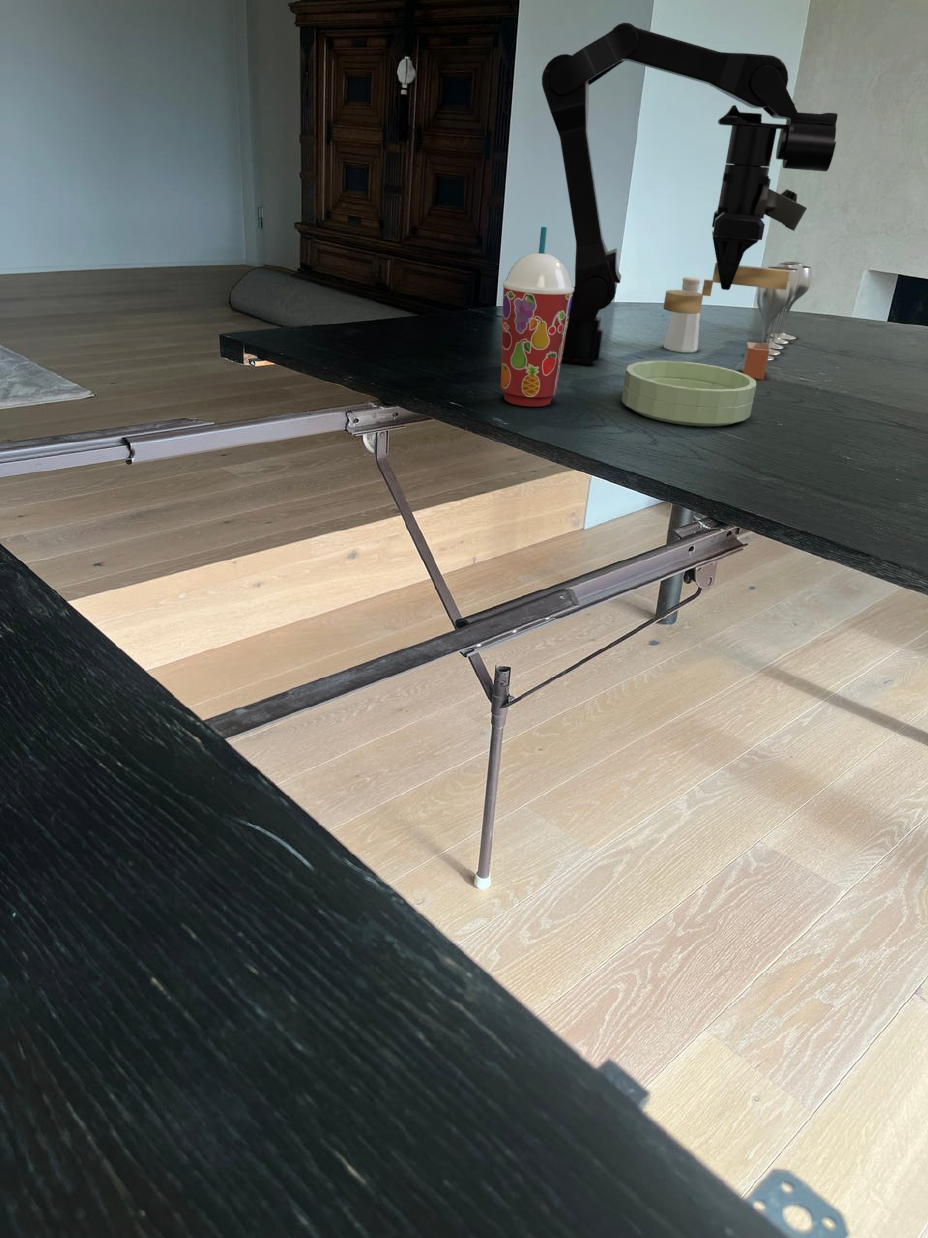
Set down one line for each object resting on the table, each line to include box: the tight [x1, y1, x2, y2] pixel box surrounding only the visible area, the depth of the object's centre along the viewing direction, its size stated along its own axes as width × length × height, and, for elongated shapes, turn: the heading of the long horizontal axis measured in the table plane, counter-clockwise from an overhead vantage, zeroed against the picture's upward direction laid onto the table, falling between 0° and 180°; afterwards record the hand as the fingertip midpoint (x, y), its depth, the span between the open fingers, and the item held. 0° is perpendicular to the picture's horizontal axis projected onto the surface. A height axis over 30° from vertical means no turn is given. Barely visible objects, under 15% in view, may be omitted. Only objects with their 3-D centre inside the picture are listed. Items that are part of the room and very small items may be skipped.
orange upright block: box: [741, 341, 770, 381], centre depth 140 cm, size 3×5×4 cm, turn 167°
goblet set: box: [756, 261, 813, 361], centre depth 160 cm, size 28×6×13 cm, turn 155°
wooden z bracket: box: [663, 262, 790, 314], centre depth 134 cm, size 16×5×7 cm, turn 77°
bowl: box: [621, 360, 757, 427], centre depth 118 cm, size 16×16×4 cm
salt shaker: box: [663, 276, 702, 353], centre depth 152 cm, size 5×5×11 cm
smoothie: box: [500, 226, 575, 408], centre depth 113 cm, size 8×8×20 cm
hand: (725, 288), depth 134 cm, fingers closed on wooden z bracket
